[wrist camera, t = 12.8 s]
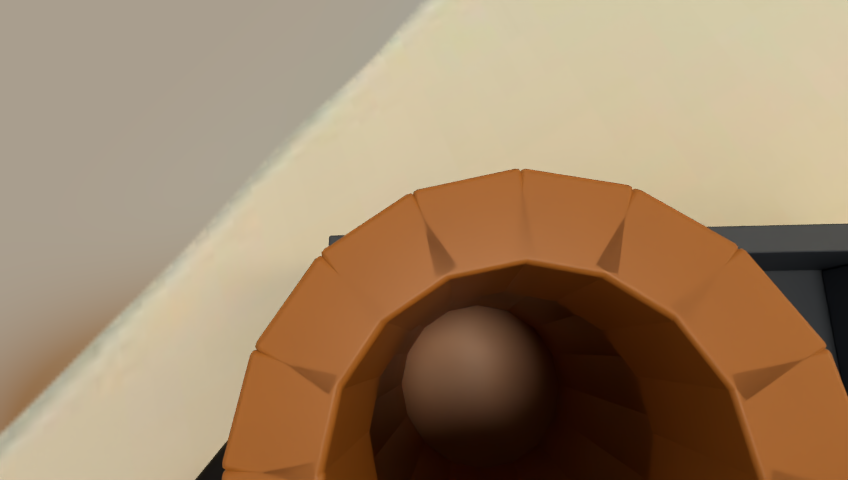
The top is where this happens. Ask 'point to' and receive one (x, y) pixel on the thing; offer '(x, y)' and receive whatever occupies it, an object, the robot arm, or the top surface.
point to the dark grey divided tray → (802, 274)
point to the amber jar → (537, 349)
